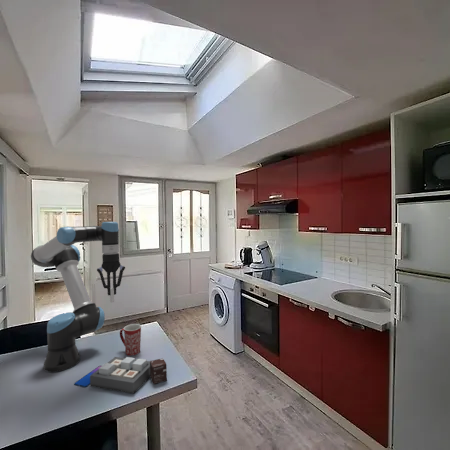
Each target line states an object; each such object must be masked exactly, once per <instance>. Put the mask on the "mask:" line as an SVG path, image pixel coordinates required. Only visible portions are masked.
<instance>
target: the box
mask: <svg viewBox="0 0 450 450" xmlns="http://www.w3.org/2000/svg"><path fill="white" fill-rule="evenodd" d="M167 366H168V365H167V362H166V361H165V359H164V358H163V357H162V358H157V359H153V360H150V377H149V379H150V380H151V382H152V384H153V385H155V384H159V383H163V382H166V381H167V380H168V378H167V377H168V373H167V372H168V371H167Z"/></svg>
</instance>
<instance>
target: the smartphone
mask: <svg viewBox="0 0 450 450" xmlns="http://www.w3.org/2000/svg"><path fill="white" fill-rule="evenodd" d="M101 366H102V365H99V366H96V367H95V368H93V370H91V371H90V372H88V373H87V374H85V375H84V376H83V377H81V378H79V379H78V380H76V381H75V382H74V383H73V385H74V386H77V387H80V388H88V387H90V375H92V374H93V373H94V372H96V371H97V370H98V369H99V368H100V367H101Z"/></svg>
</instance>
